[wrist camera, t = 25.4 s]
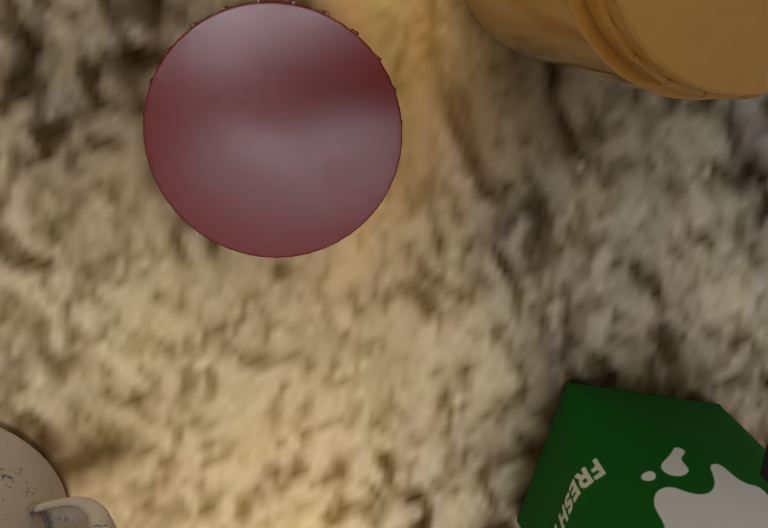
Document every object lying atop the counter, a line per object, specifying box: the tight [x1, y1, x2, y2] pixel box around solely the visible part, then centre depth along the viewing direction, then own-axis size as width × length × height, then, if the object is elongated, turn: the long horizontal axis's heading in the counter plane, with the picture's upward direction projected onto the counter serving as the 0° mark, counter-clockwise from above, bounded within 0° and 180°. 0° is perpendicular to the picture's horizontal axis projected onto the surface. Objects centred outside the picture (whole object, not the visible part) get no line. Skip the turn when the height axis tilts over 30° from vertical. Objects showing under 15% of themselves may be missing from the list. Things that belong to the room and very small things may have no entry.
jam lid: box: [143, 0, 402, 258], centre depth 23 cm, size 8×8×2 cm
